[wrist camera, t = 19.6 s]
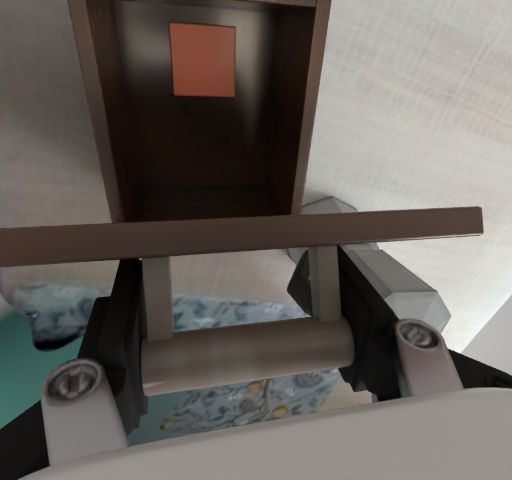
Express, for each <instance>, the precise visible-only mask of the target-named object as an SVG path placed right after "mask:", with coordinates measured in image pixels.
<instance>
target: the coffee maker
mask: <svg viewBox="0 0 512 480" xmlns="http://www.w3.org/2000/svg"><path fill="white" fill-rule="evenodd" d="M344 212H358V211H357V209H356V208H354V207H352V206H350V205H348V204H346V203H344V202H342V201H340V200H338V199H337V198H335V197H333V196H332V197H329V198H326V199H323V200H320V201H317V202H314V203H310V204H307V205H304V206H302V209H301V214H322V213H344ZM340 246H341V248H342V249H343V250H344V251H345V252H346V254H347V255H348V256H349V257H350V259H351V260H352V261H353V262H354V264H355V265H356V266H357V267H358V268H359V270H360V271H361V272H362V273H363V275H364V276H365V277H366V278H367V279H368V281H369V282H370V283H371V284H372V286H373V287H374V288H375V289H376V291H377V292H378V293H379V294H380V295H381V297H382V298H383V299H384V300H385V302H386V303H387V304H388V305H389V306H390V308H391V309H392V310H393V311H394V313H395V314H396V316H397V317H398V318H399V319H400V320H401V319H405V318H412V319H417V320H421V321H423V322H426V323H428V324H430V325H431V326H433V327H434V328H435V329H436V330H437V331H438V332H439V333H440V334H441V333H442V331H443V329H444V328H445V326H446V324H447V323H448V321H449V319H450V318H451V314H450V313H449V311H448V309H447V307H446V306H445V304H444V302H443V300H442V299H441V297H440V295H439V293H438V292H437V291H436V290H434V289H433V288H432V287H431V286H429V285H428V284H427V283H425V282H424V281H423V280H421V279H420V278H419V277H417V276H416V275H415V274H413V273H412V272H411V271H409V270H408V269H407V268H406V267H404V266H403V265H402V264H400V263H399V262H398V261H396V260H395V259H394V258H392V257H391V256H390V255H388V254H387V253H386V252H384V251H383V250H379V247H378V246H377V244H376V243H361V244H346V245H340ZM287 249H288V253H289V257H290V258H291V260H292V261H293V262H294V263H295V264H296V265H297V266H296V269H295V271H294V273H293V276H292V278H291V280H290V282H289V285H288V287H287V292H288V293H289V294H290V295H291V297H292V298H293V299H294V300H295V301H296V303H297V304H298V305H299V306H300V307H301V309H302V310H303V311H304V312H305V313H306V314H308V315H310V316H311V314H310V311H309V308H308V299H309V293H310V287H311V282H310V267H309V252H308V247H300V248H287Z"/></svg>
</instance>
